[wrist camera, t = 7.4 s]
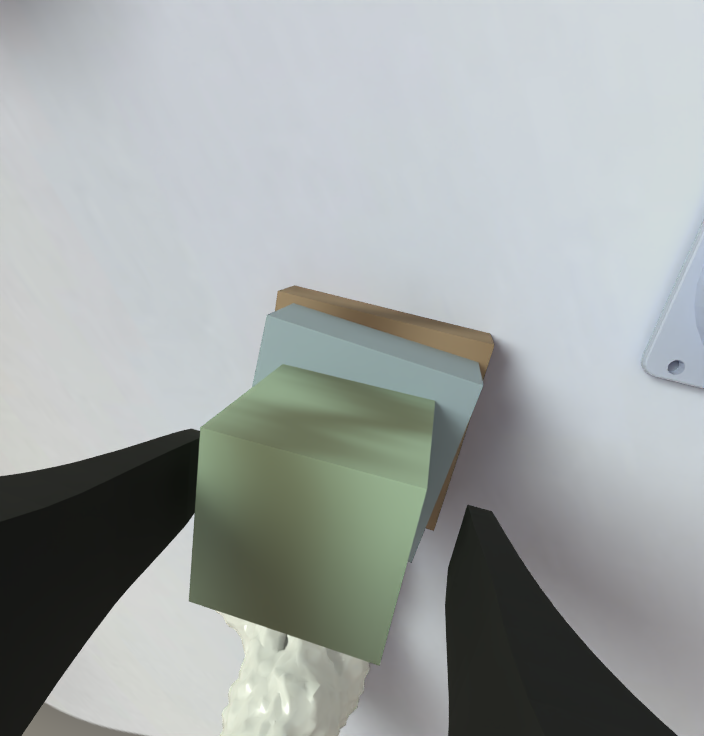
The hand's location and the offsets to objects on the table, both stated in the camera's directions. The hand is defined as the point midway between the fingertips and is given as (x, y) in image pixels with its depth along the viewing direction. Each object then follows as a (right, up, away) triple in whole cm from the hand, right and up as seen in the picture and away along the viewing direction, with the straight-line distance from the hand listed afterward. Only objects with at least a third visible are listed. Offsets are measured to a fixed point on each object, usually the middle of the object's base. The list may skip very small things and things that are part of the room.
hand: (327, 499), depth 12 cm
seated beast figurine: (-1, -9, +11) cm, 14 cm away
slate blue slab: (+1, +2, +5) cm, 6 cm away
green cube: (0, +1, +3) cm, 3 cm away
